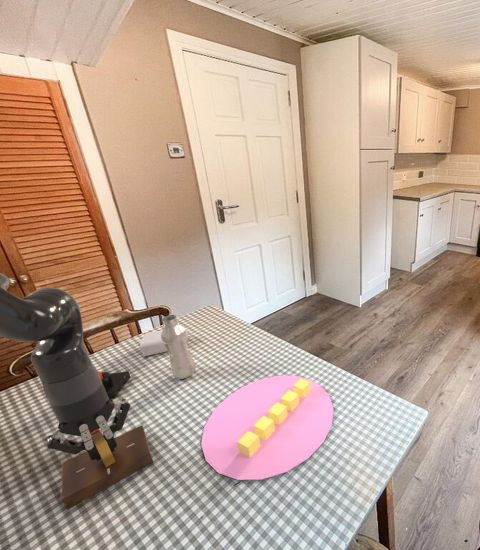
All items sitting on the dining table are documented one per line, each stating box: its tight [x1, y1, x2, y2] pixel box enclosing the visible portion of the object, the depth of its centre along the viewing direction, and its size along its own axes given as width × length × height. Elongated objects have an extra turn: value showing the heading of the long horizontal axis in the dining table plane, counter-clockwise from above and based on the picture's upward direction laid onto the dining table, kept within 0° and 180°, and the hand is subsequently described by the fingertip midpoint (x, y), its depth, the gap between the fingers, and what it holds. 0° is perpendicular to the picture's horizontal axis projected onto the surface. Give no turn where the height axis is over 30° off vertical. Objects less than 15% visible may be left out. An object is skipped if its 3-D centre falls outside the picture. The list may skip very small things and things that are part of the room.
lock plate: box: [61, 424, 155, 510], centre depth 65 cm, size 14×10×3 cm
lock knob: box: [90, 429, 115, 467], centre depth 63 cm, size 6×2×6 cm, turn 52°
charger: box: [139, 329, 194, 358], centre depth 106 cm, size 5×9×15 cm
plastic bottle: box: [161, 314, 197, 380], centre depth 89 cm, size 6×7×20 cm
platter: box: [200, 375, 334, 481], centre depth 77 cm, size 32×32×3 cm
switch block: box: [100, 370, 131, 400], centre depth 86 cm, size 12×9×4 cm
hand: (105, 453), depth 64 cm, fingers closed on lock knob, 2 cm apart
